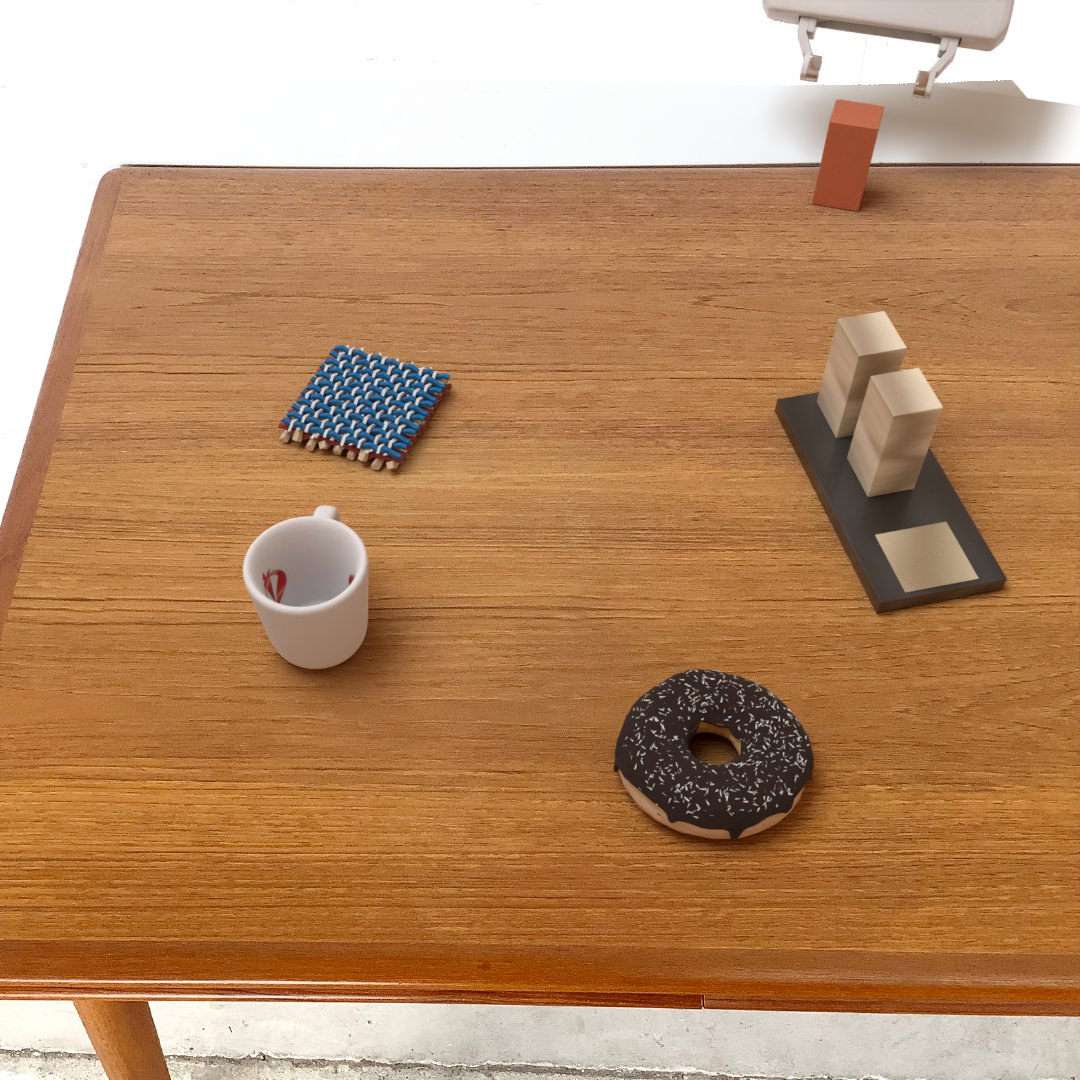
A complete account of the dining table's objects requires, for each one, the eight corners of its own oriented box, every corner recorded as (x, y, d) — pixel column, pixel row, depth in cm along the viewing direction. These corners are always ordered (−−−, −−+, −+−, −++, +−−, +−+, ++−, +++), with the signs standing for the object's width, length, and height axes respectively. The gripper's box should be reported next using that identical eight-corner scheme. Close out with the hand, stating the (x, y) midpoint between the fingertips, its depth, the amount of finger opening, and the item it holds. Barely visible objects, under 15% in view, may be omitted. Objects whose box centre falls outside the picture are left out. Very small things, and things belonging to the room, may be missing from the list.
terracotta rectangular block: (818, 181, 116) (836, 98, 110) (864, 188, 116) (884, 105, 109) (811, 204, 114) (829, 121, 108) (858, 211, 114) (878, 129, 107)
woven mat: (335, 355, 105) (332, 335, 104) (456, 388, 102) (455, 368, 101) (274, 441, 100) (270, 422, 98) (399, 479, 97) (397, 460, 95)
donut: (638, 675, 86) (643, 640, 82) (820, 719, 83) (833, 684, 80) (597, 819, 79) (600, 787, 76) (792, 871, 77) (804, 840, 74)
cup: (284, 554, 93) (267, 477, 87) (394, 564, 92) (385, 486, 86) (249, 679, 87) (228, 606, 80) (367, 690, 86) (355, 617, 79)
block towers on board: (886, 390, 100) (915, 295, 93) (1002, 589, 89) (1046, 498, 81) (774, 410, 100) (794, 315, 92) (876, 613, 88) (909, 524, 80)
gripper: (782, -116, 108) (740, 59, 110) (1040, -85, 103) (991, 96, 106) (783, -85, 114) (744, 80, 116) (1028, -55, 109) (981, 115, 112)
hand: (864, 88), depth 111 cm, fingers open, 8 cm apart
